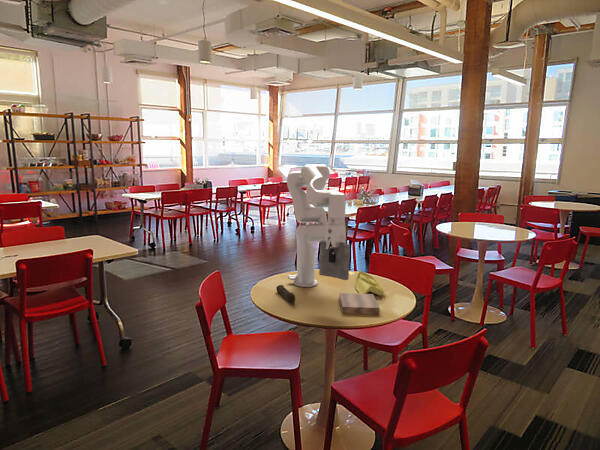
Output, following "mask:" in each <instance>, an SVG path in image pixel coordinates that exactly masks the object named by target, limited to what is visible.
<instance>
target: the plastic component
mask: <svg viewBox="0 0 600 450" xmlns="http://www.w3.org/2000/svg"><path fill="white" fill-rule="evenodd" d="M355 289H356V291H357V292H358V294H369V293H370V292H371V293H372V294H376V295H378V296H383V295H384V293H385V289H384V287H383V286H382V285H381V284H380V282H379V281H378V280H377V279H376V278H375V277H374V276H372V275H371V274H369V273H367V272H365V271H363V270H359V271H358V273H357V275H356V278H355Z"/></svg>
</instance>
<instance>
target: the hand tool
mask: <svg viewBox="0 0 600 450" xmlns="http://www.w3.org/2000/svg"><path fill="white" fill-rule="evenodd" d="M275 287H276V292H277V293H278V294H281V295H282V297H283V298H284V299H285V300H286V301H287V303H289V304H290V305H292V306H295V303H296V295H295V294H294V293H293V292H290V291H289V290H288V289H286V288H285V287H284V285H283V284H278V285H277V286H275Z"/></svg>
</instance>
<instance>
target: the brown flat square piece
mask: <svg viewBox="0 0 600 450" xmlns="http://www.w3.org/2000/svg"><path fill="white" fill-rule="evenodd" d="M338 300H339V304H340V307H341V312H342V314H350V315H351V314H353V315H354V314H355V315H357V314H358V315H359V314H360V315H380V306H379V303H378V301H377V299H376V297H375V295H374V293H367V294H359V293H347V292H346V293H345V292H343V293H342V292H341V293H339V299H338Z"/></svg>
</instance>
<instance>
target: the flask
mask: <svg viewBox="0 0 600 450" xmlns="http://www.w3.org/2000/svg"><path fill="white" fill-rule="evenodd" d="M331 246H332V245H331ZM331 249H332V250H333V248H331ZM350 252H351V244H350V243H343V242H342V243H341V244H340V246H339V247H337V248H335V254H336V258H335V263H332V262H329V253H328V250H327V249H326V240H321V241H320V242H319V271H318V273H319V274H318V275H319V276H322V277H330V278H335V279H339V280H343V281H348V280H349V275H350V274H349V273H350V272H349V271H350V255H351V253H350Z"/></svg>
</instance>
